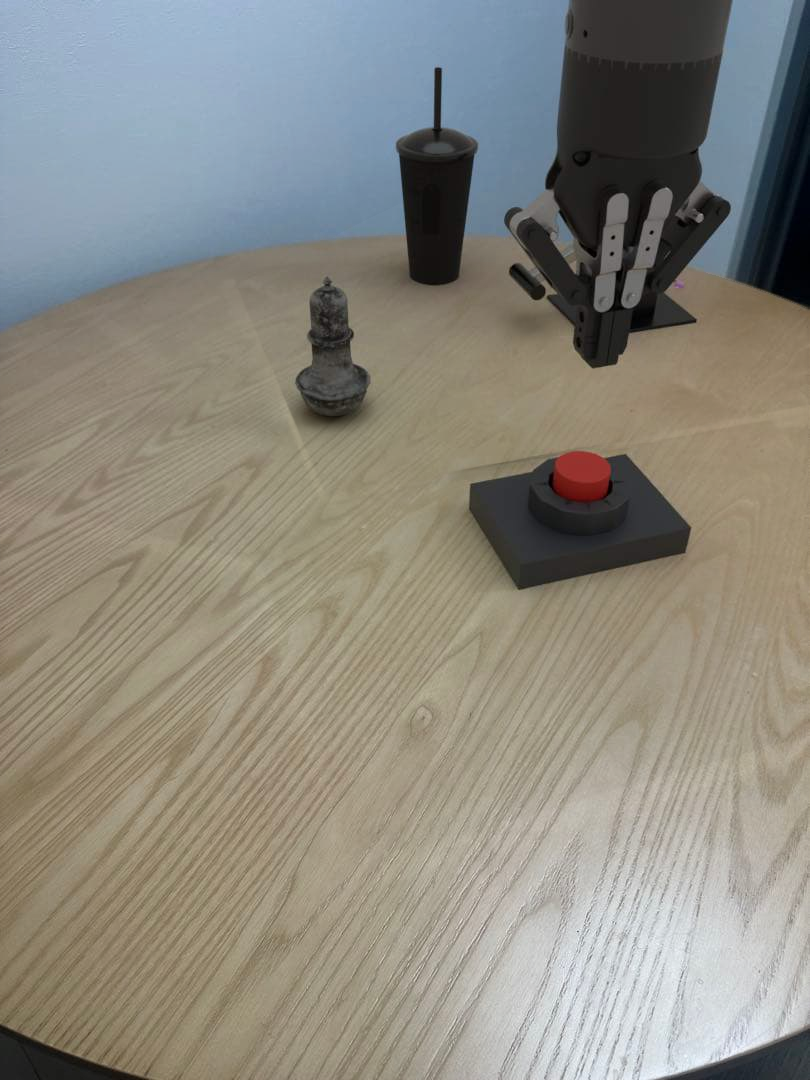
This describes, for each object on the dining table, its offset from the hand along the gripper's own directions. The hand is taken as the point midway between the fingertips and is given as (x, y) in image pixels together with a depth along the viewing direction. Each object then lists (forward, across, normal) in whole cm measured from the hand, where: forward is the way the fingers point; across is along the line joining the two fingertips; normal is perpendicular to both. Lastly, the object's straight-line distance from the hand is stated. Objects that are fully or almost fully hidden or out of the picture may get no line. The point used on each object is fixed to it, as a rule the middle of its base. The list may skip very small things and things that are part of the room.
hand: (597, 360), depth 56 cm
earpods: (+13, +26, +32) cm, 43 cm away
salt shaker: (+13, -12, +19) cm, 26 cm away
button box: (+13, 0, 0) cm, 13 cm away
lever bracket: (+13, +18, +28) cm, 36 cm away
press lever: (+6, +14, +28) cm, 32 cm away
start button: (+9, 0, 0) cm, 9 cm away
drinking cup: (+13, +4, +41) cm, 43 cm away
